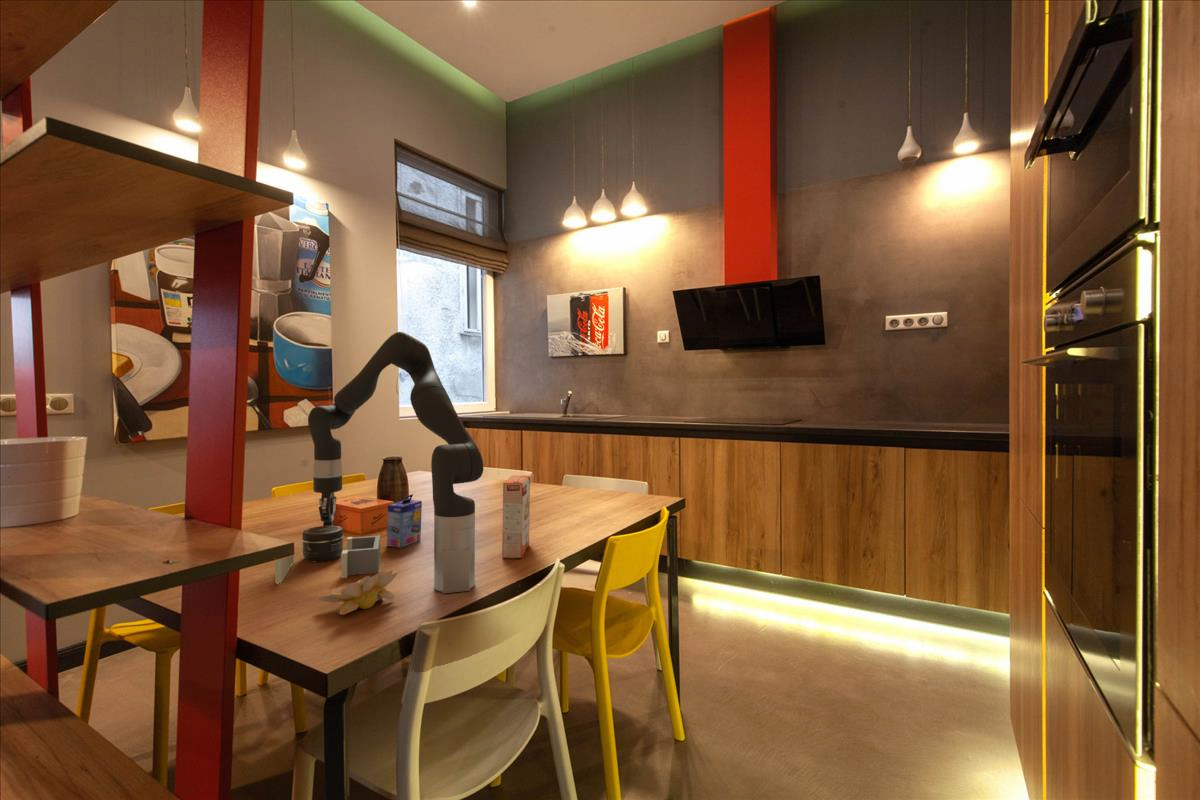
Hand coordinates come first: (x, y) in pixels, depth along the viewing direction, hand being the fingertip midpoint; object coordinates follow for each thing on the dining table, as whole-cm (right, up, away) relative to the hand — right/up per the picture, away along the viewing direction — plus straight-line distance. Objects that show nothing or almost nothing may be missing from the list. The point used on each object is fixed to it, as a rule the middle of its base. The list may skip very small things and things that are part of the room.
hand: (328, 534), depth 163 cm
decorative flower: (+28, -5, -43) cm, 52 cm away
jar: (+3, -4, -10) cm, 11 cm away
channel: (+11, -4, -20) cm, 23 cm away
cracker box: (+55, -4, -3) cm, 55 cm away
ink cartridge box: (+21, -4, +5) cm, 21 cm away
